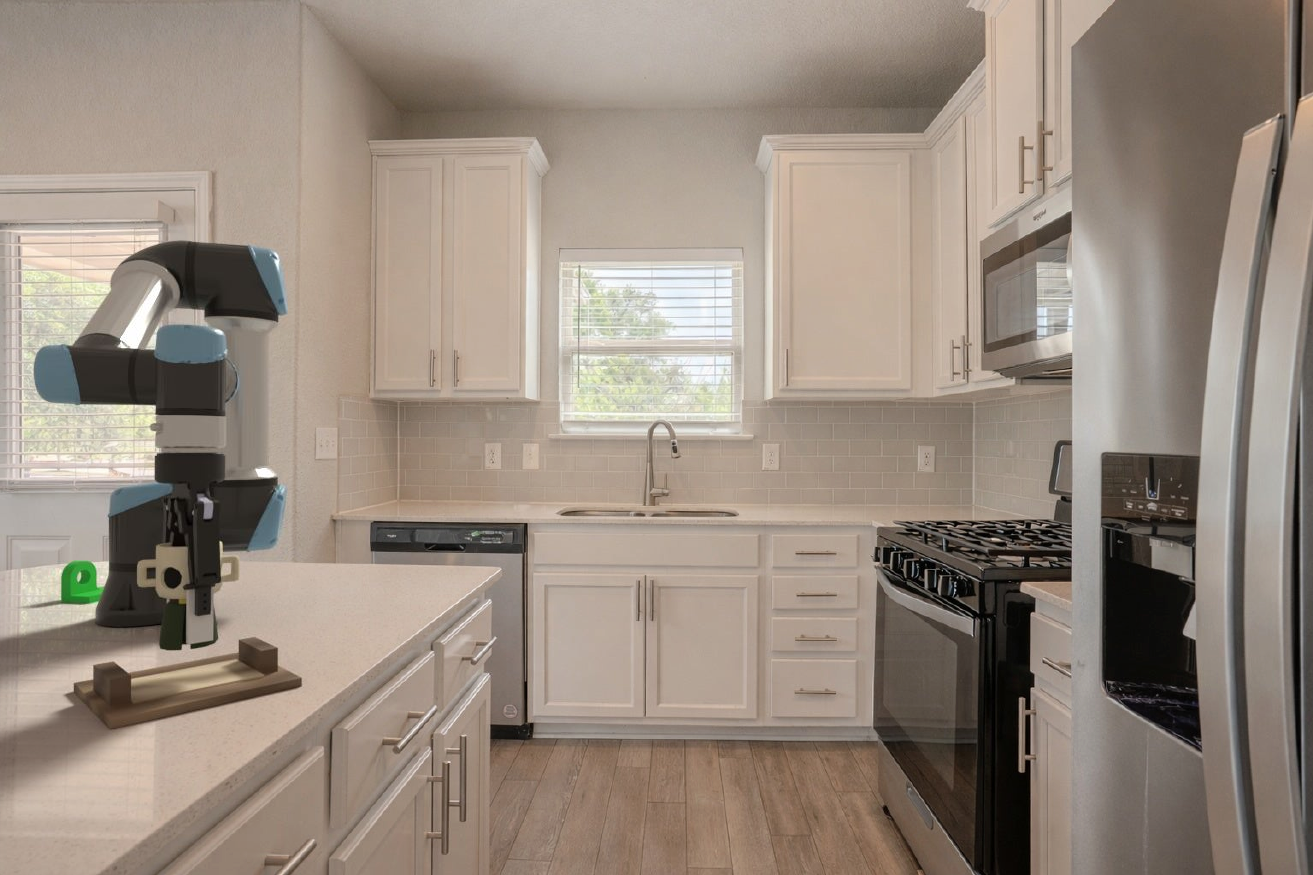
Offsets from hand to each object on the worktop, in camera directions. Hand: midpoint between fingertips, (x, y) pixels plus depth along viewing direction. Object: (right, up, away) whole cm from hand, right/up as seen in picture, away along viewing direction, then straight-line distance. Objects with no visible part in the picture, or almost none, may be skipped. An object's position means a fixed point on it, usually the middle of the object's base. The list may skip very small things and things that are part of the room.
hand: (189, 635), depth 95 cm
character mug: (0, -2, 0) cm, 2 cm away
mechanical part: (-48, -7, +52) cm, 72 cm away
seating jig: (0, -6, 0) cm, 6 cm away
